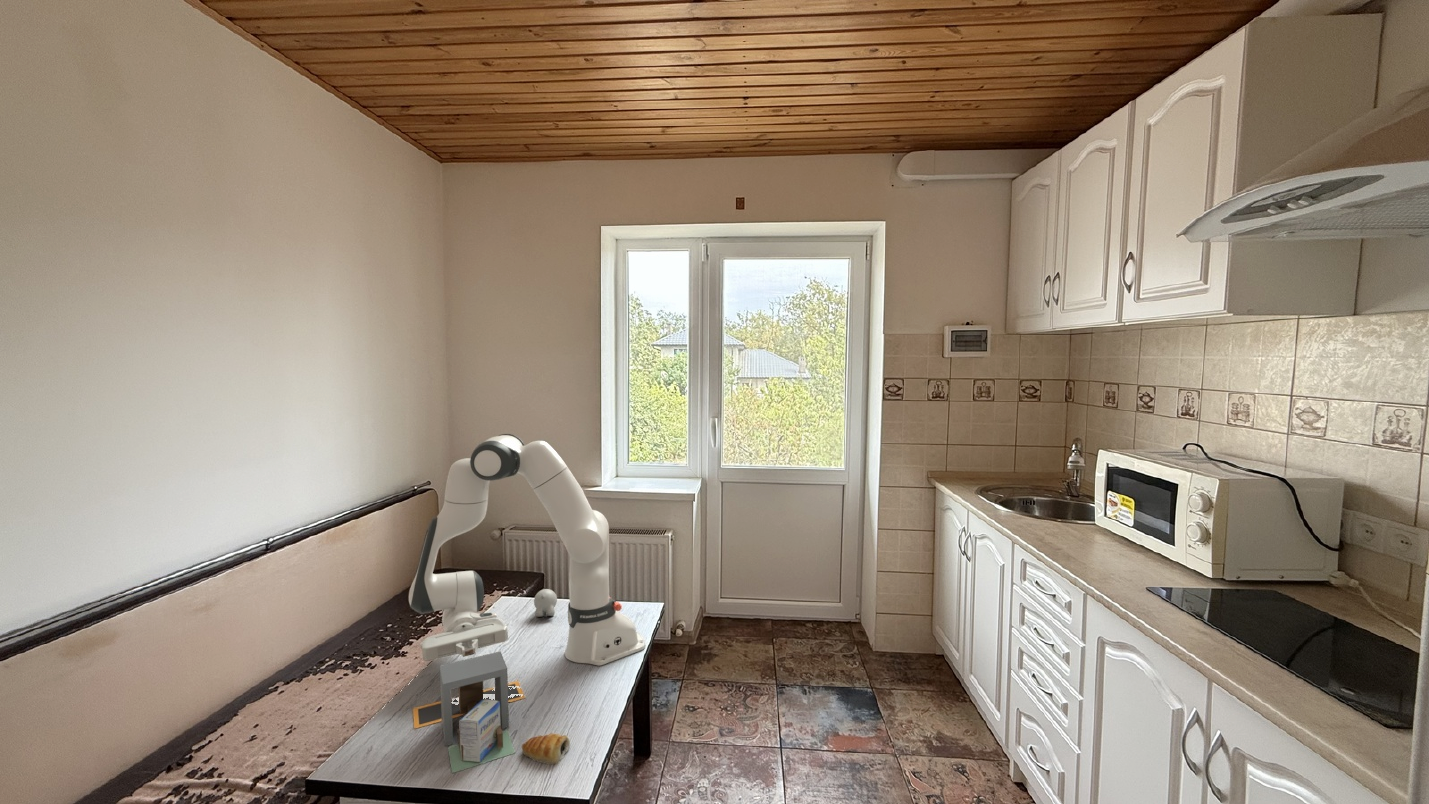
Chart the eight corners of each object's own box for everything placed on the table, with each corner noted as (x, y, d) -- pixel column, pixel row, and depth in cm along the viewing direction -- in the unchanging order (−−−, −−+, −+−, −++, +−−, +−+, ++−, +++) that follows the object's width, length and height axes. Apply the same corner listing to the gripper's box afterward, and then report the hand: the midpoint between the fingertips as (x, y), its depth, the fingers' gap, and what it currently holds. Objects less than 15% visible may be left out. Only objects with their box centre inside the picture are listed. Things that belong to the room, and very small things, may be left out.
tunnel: (502, 706, 137) (500, 651, 136) (509, 726, 129) (507, 668, 128) (441, 723, 130) (439, 665, 130) (445, 745, 122) (442, 684, 122)
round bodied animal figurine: (558, 615, 194) (559, 589, 197) (555, 616, 183) (556, 588, 186) (536, 617, 193) (537, 590, 196) (531, 617, 182) (533, 589, 185)
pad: (507, 730, 128) (507, 729, 128) (515, 753, 120) (515, 752, 120) (448, 747, 122) (448, 747, 122) (452, 773, 114) (452, 772, 114)
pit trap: (518, 681, 148) (518, 680, 148) (525, 698, 140) (525, 697, 140) (413, 708, 136) (413, 708, 136) (414, 729, 128) (414, 728, 128)
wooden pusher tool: (488, 699, 139) (487, 654, 138) (503, 747, 121) (501, 696, 120) (452, 709, 135) (450, 663, 134) (461, 760, 117) (459, 707, 116)
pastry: (515, 762, 117) (515, 743, 117) (531, 741, 124) (531, 724, 124) (558, 767, 116) (558, 748, 116) (572, 746, 122) (572, 728, 122)
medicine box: (479, 763, 116) (478, 722, 116) (460, 761, 117) (458, 719, 117) (501, 739, 124) (500, 700, 124) (483, 736, 125) (481, 698, 125)
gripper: (418, 630, 149) (420, 651, 137) (501, 610, 159) (510, 629, 146) (420, 653, 149) (422, 677, 137) (503, 633, 159) (512, 653, 147)
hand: (469, 652), depth 142 cm, fingers closed
